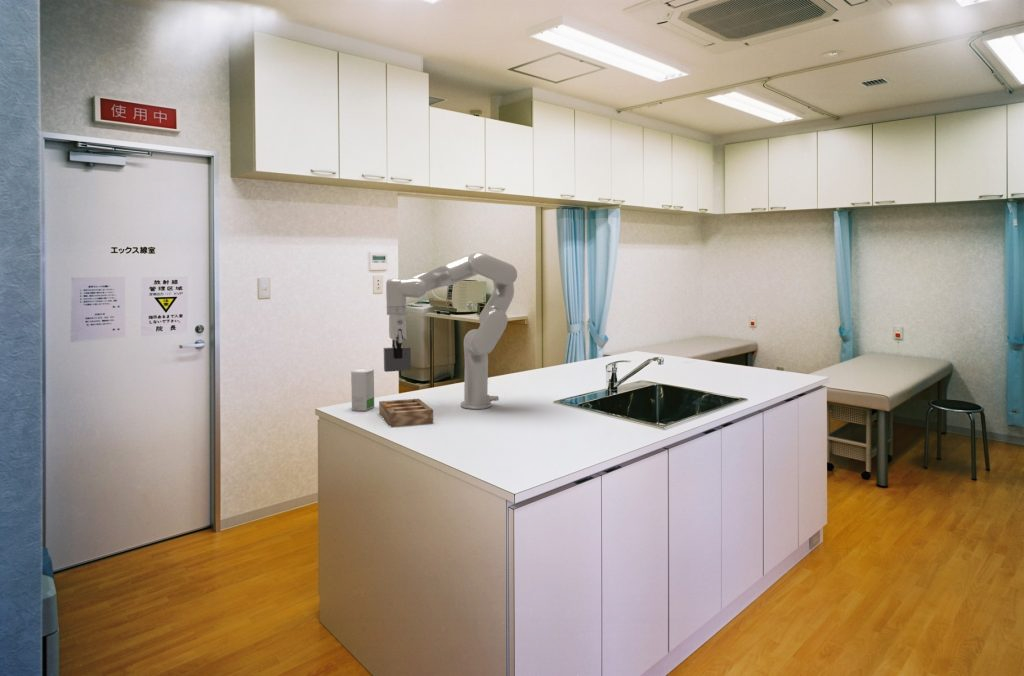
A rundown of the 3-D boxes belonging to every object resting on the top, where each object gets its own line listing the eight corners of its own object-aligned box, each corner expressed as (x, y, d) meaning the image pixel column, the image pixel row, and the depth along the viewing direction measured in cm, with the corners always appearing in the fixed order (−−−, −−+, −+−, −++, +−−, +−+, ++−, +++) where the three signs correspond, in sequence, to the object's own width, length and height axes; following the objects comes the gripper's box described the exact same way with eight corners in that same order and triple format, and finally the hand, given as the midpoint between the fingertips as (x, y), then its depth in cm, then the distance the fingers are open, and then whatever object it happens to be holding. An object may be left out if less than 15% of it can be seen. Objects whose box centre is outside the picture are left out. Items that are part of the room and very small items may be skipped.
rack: (418, 411, 240) (418, 397, 240) (433, 423, 222) (433, 408, 222) (379, 414, 234) (379, 399, 234) (390, 426, 216) (390, 411, 215)
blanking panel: (409, 369, 243) (408, 346, 242) (410, 370, 241) (410, 347, 240) (384, 370, 239) (383, 347, 238) (385, 371, 237) (384, 348, 236)
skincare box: (366, 411, 238) (365, 372, 236) (350, 410, 239) (349, 371, 237) (375, 407, 246) (374, 368, 244) (359, 406, 247) (359, 368, 246)
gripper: (411, 312, 231) (411, 360, 233) (401, 309, 246) (401, 354, 248) (391, 312, 228) (392, 361, 230) (382, 309, 243) (383, 355, 245)
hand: (397, 357), depth 239 cm, fingers closed on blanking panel, 2 cm apart
